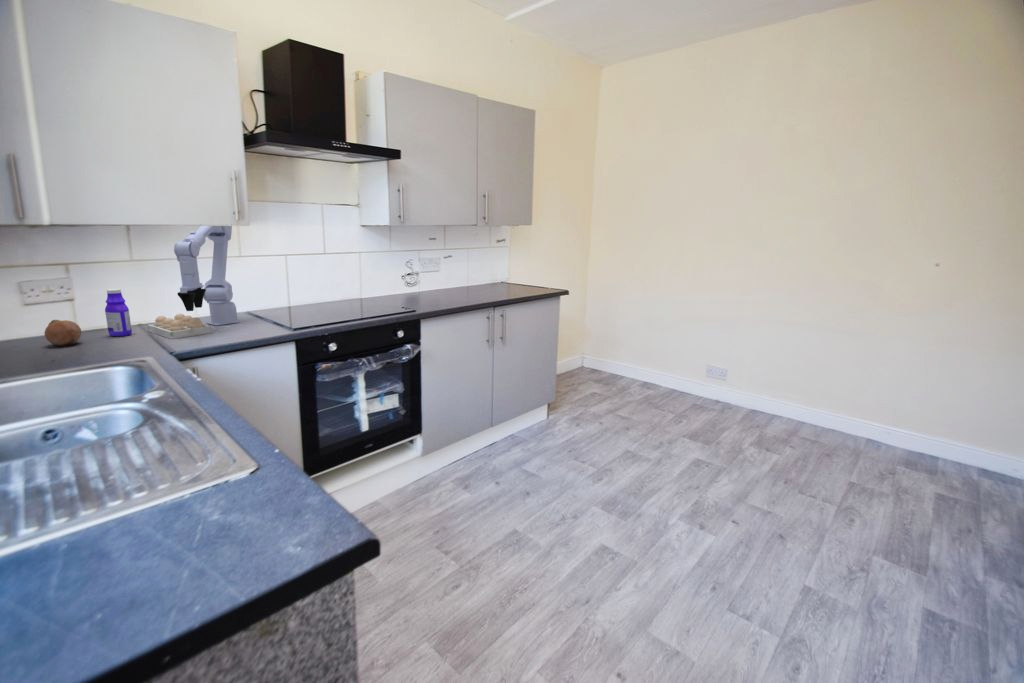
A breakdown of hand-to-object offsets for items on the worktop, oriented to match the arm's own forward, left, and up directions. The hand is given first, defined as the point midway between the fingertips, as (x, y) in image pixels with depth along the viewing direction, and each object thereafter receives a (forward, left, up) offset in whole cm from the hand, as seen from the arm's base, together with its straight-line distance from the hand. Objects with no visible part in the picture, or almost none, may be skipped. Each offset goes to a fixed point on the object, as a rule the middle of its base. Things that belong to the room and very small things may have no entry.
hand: (194, 309), depth 193 cm
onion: (+37, -14, -10) cm, 40 cm away
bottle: (+20, -17, -10) cm, 27 cm away
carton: (+4, -7, -9) cm, 12 cm away
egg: (0, 0, -8) cm, 8 cm away
